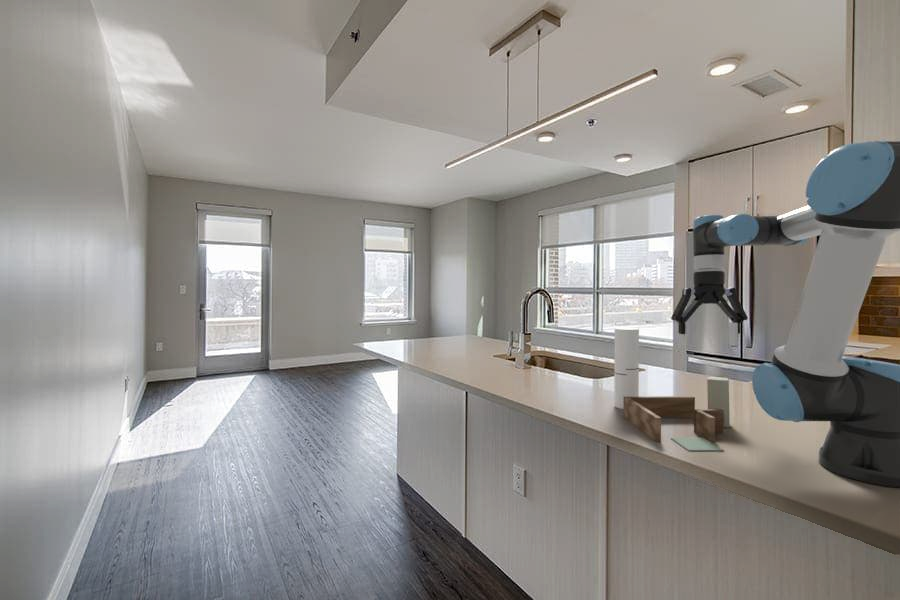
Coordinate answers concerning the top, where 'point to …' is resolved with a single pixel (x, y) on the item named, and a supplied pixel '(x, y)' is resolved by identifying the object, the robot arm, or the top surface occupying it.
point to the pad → (696, 444)
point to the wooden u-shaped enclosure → (672, 415)
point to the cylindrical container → (626, 365)
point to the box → (719, 396)
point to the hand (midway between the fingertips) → (709, 345)
